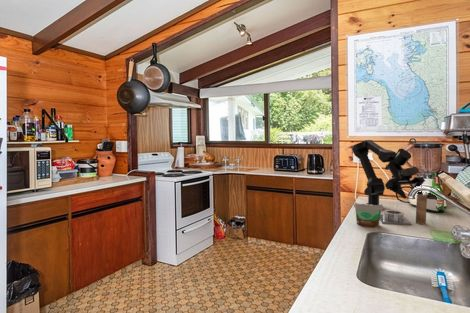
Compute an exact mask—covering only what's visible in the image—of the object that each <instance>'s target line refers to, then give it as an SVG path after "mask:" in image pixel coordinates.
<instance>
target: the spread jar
mask: <svg viewBox="0 0 470 313" xmlns="http://www.w3.org/2000/svg"><path fill="white" fill-rule="evenodd" d="M437 189H438V190H439V191H440V192H441V190H440V188H437ZM424 192H425V191H424ZM424 192H423V193H424ZM423 195H426V196H427V208H426V212H428V211H429V213H436V212H435V211H436V210H437V206H436V204H437V197H436V196H435V195H433V194H431V193H427V192H425V193H424V194H423Z"/></svg>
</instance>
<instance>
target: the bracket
mask: <svg viewBox="0 0 470 313" xmlns="http://www.w3.org/2000/svg"><path fill="white" fill-rule="evenodd" d="M379 222H380V223H381V224H383V225H385V224H386V225H404V226H405V225H406V226H412V222H410V220H409V219H407V217H406V216H405V212H403V211H400V210H395V209H385V210H383V214H380V220H379Z"/></svg>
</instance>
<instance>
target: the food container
mask: <svg viewBox="0 0 470 313" xmlns="http://www.w3.org/2000/svg"><path fill="white" fill-rule="evenodd" d="M353 204H354V205H353V207H354V208H355V218H356V224H357V225H358V226H361V227H364V228H365V227H366V228H378V227H379V225H380V215H382V214H381V212H382V210H383V209H384V207H383V204H382V203H381V204H379V205H372V204H367V203H363V204H361V203H357V202H356V201H355V202H354V203H353Z"/></svg>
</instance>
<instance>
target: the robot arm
mask: <svg viewBox="0 0 470 313" xmlns="http://www.w3.org/2000/svg"><path fill="white" fill-rule="evenodd" d="M351 151H352V153H353V154H354V156H355V157H356V158H357V159H359V161H360V164H361V166H362V169H363V171H364V174H365V176H366V179H367V182H366V186H367V187H366V188H365V189H364V190H363V191H364V195H366V196H367V198H368V199H367V203H366V204H372V205H380V196H384V193H385V189H386V190H389V191H392V192H394V193H395V194H396V195H399V196H400V197H401V198H403V199H407V195H406V194H405V191H404V190H403V188H402V186H406V185H409V186H410V187H411V189H412V190H413V188H414V187H416V186H420V185H421V186H422V185H423V184H424V183H425V182H426V179H425V178H424V177H423V176H416V175H417V174H418V173H420V170H419V169H418V167H417V166H413V167H407V168H405V169H404V168H403V166H405V165H406V163H407V162H409V161H410V159H411V158H412V154H411V152H409V151H408V150H405V149H404V148H399V149H398V150H397V151H393V150H391V149H386V148H384V147H383V146H380V145H379V144H378V143H376V142H375V141H374V140H372V139H364V140H363V141H361V142H358V143H356V144H353V146H352V147H351ZM369 151H371V152H372V153H373V154H375V155H377V158H378V160H380V161H381V162H382V163H388V164H385V168H384V170H385V171H388V170H389V172H390V173H391V174H392V175H391V178H389V179H388V180H387V181H386V182H385V183H384V181H383V180H384V179H382V178H381V177H380V178H379V177H377V175H376V173H375V169H374V167H373V165H372V163H371V161H370V158H369ZM413 176H416V177H413ZM423 193H424V192H423V190H422V191H421V192H418V193H416V195H423Z"/></svg>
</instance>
